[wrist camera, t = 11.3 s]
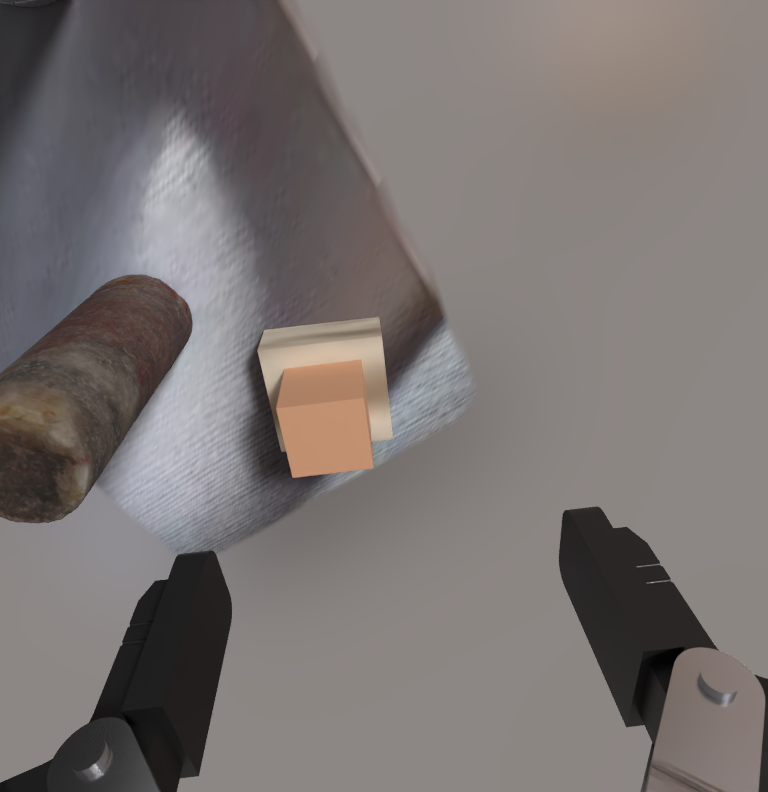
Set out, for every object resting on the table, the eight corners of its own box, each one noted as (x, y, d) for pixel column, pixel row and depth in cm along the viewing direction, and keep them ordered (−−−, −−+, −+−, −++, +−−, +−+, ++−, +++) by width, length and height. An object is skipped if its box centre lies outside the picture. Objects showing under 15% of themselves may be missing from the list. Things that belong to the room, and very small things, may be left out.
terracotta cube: (284, 368, 42) (276, 408, 37) (361, 359, 42) (363, 397, 37) (298, 432, 45) (292, 477, 40) (370, 423, 45) (373, 467, 40)
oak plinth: (264, 329, 45) (257, 350, 41) (379, 316, 45) (381, 336, 41) (285, 426, 50) (281, 451, 46) (389, 414, 50) (392, 438, 46)
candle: (128, 369, 46) (-4, 543, 28) (75, 291, 42) (-113, 434, 25) (210, 339, 45) (125, 499, 28) (163, 256, 41) (31, 380, 24)
